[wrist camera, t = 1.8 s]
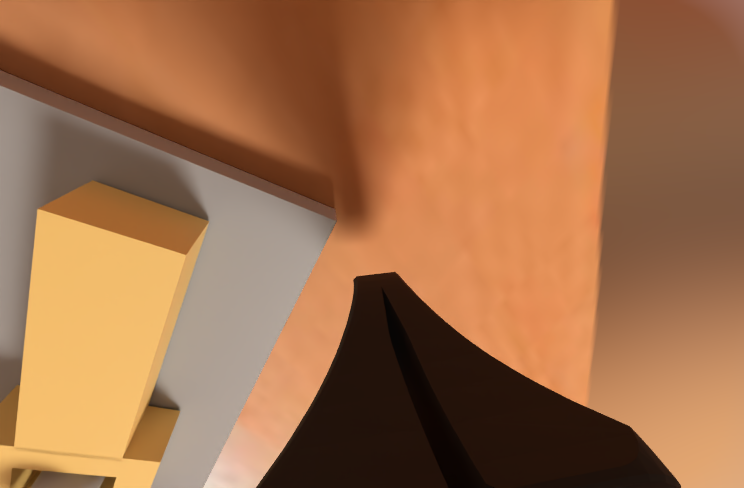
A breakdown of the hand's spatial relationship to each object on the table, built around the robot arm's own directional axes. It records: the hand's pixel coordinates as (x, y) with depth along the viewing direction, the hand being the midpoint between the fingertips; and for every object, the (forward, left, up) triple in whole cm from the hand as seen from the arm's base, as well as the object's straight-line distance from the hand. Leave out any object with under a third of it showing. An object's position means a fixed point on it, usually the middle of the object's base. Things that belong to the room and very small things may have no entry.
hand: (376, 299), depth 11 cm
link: (-7, +7, -1) cm, 10 cm away
